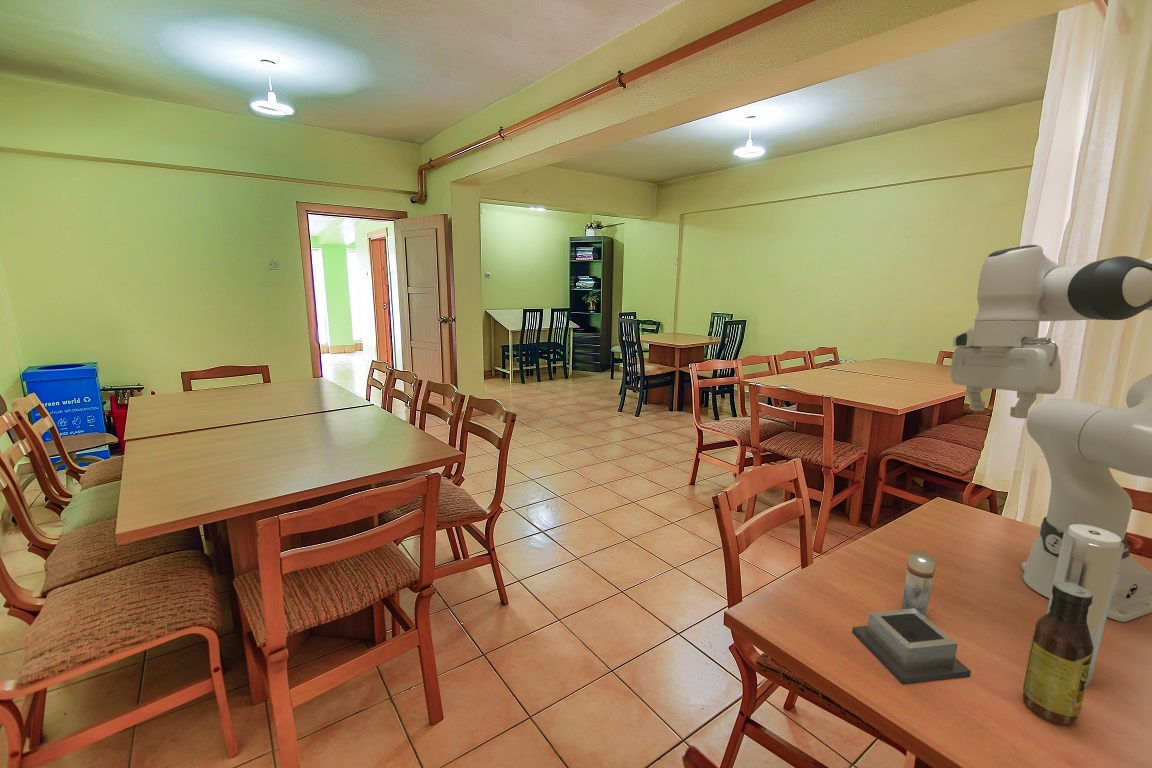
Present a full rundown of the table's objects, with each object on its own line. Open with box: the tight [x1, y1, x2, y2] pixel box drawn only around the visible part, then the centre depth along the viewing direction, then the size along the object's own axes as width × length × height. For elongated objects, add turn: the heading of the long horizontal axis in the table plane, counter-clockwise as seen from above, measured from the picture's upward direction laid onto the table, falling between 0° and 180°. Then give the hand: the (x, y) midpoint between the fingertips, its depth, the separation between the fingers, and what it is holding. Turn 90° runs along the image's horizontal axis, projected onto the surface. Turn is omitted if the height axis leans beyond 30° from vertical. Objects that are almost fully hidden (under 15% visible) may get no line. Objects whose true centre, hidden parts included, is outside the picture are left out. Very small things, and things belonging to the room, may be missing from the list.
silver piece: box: [1045, 524, 1124, 687], centre depth 78 cm, size 6×6×25 cm
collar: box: [852, 608, 972, 685], centre depth 85 cm, size 12×12×5 cm
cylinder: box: [901, 551, 936, 618], centre depth 94 cm, size 4×4×12 cm
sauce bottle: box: [1022, 581, 1094, 726], centre depth 72 cm, size 6×6×20 cm
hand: (996, 413), depth 90 cm, fingers open, 8 cm apart
